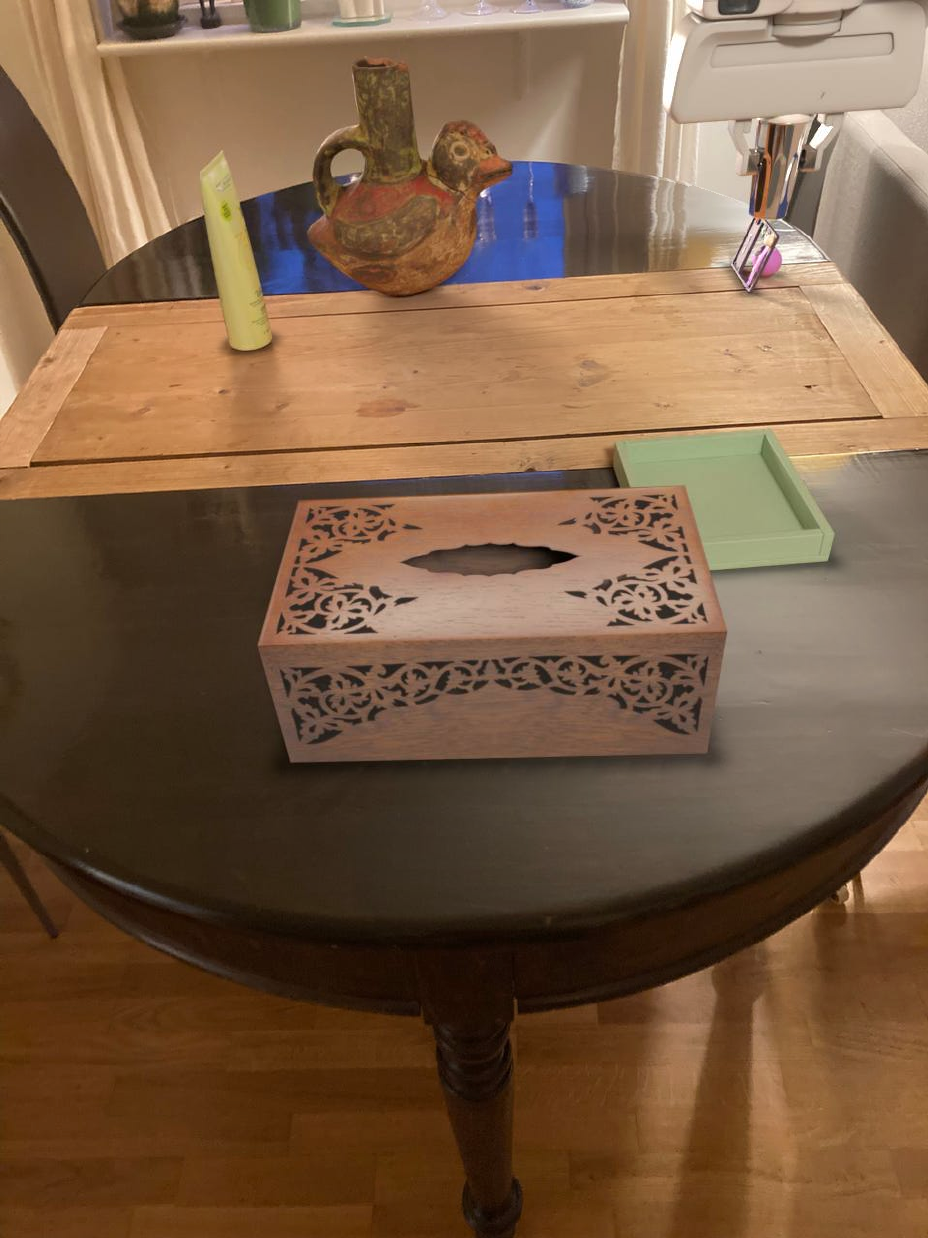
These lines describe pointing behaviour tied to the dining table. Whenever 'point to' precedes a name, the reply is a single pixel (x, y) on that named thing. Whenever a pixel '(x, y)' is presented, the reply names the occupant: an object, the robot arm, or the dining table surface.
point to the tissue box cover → (494, 627)
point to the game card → (758, 253)
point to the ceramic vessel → (400, 189)
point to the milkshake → (777, 163)
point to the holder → (734, 495)
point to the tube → (233, 259)
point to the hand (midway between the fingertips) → (776, 171)
